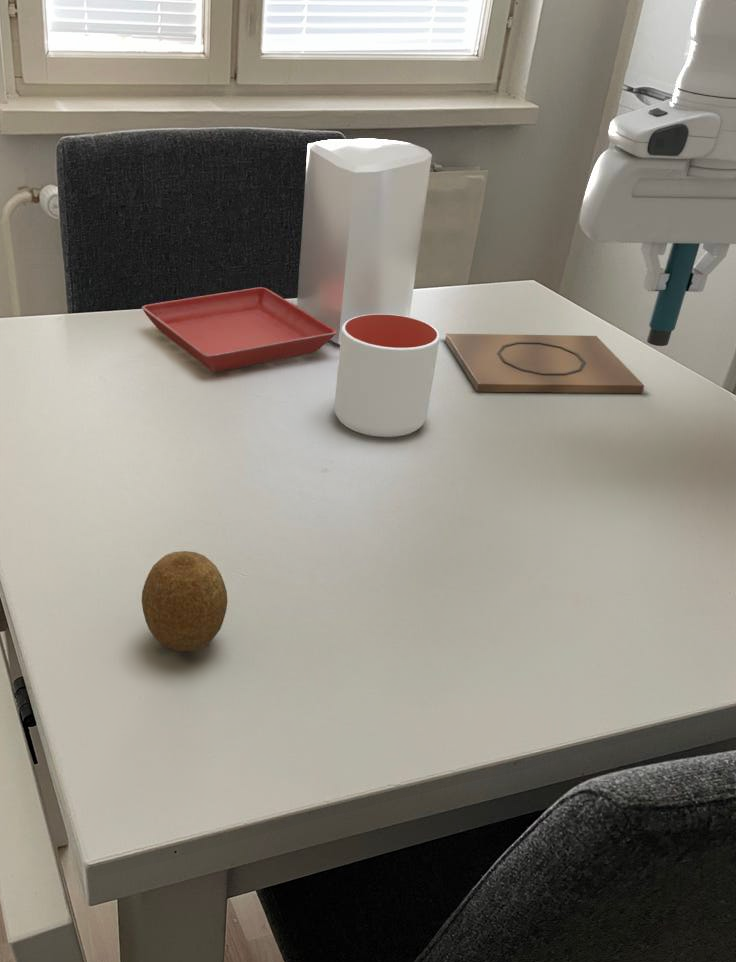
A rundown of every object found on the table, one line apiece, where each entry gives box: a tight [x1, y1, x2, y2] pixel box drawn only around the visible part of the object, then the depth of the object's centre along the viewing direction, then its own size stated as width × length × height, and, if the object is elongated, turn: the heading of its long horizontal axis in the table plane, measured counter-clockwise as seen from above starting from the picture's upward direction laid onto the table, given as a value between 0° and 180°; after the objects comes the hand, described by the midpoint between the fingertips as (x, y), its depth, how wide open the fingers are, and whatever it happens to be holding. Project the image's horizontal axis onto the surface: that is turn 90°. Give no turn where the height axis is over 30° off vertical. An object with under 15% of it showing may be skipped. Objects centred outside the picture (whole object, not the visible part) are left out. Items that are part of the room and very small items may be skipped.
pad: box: [444, 333, 645, 394], centre depth 121 cm, size 20×16×1 cm
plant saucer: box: [141, 286, 336, 373], centre depth 122 cm, size 18×18×3 cm
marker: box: [646, 243, 701, 347], centre depth 93 cm, size 2×2×13 cm
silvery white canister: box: [296, 138, 433, 345], centre depth 124 cm, size 15×14×22 cm
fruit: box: [141, 550, 229, 652], centre depth 72 cm, size 6×6×8 cm
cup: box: [333, 314, 441, 438], centre depth 104 cm, size 10×10×10 cm
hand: (672, 289), depth 94 cm, fingers closed on marker, 2 cm apart
